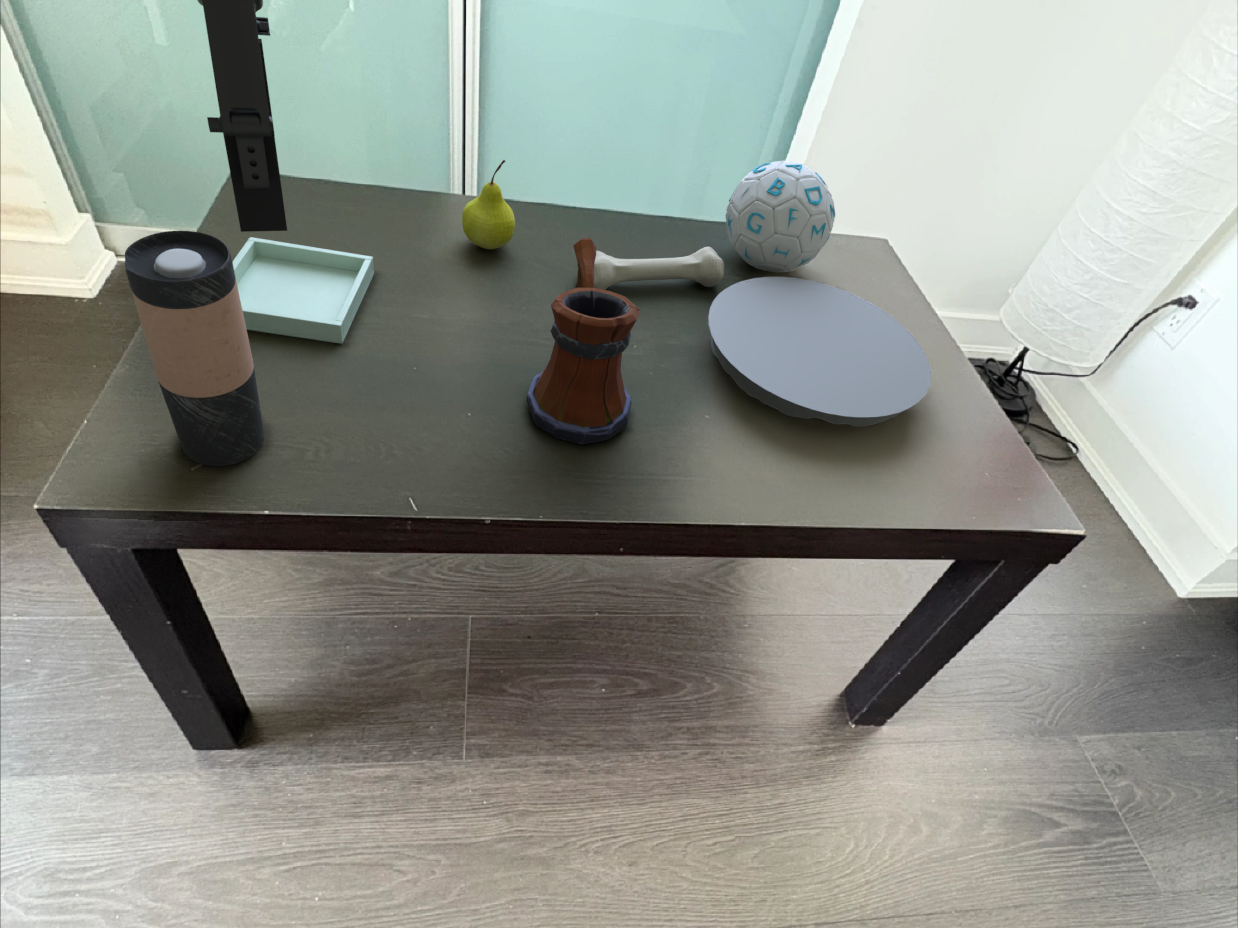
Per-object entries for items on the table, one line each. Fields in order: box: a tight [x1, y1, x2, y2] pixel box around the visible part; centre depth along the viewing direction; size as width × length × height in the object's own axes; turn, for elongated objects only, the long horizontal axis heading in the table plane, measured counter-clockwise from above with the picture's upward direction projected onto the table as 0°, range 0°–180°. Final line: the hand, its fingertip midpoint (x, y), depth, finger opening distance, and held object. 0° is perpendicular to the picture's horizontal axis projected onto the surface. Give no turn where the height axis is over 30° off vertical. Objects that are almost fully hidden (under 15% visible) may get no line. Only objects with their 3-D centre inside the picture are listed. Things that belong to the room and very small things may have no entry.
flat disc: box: [708, 276, 932, 428], centre depth 98 cm, size 28×28×4 cm
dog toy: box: [594, 246, 725, 290], centre depth 106 cm, size 20×6×5 cm, turn 108°
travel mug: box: [124, 230, 265, 467], centre depth 68 cm, size 8×8×20 cm
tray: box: [232, 236, 375, 345], centre depth 91 cm, size 15×15×2 cm
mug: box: [526, 237, 641, 445], centre depth 84 cm, size 18×12×15 cm, turn 6°
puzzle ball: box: [725, 160, 836, 273], centre depth 112 cm, size 15×15×15 cm
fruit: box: [461, 159, 516, 250], centre depth 103 cm, size 7×7×12 cm
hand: (259, 177), depth 54 cm, fingers open, 13 cm apart
